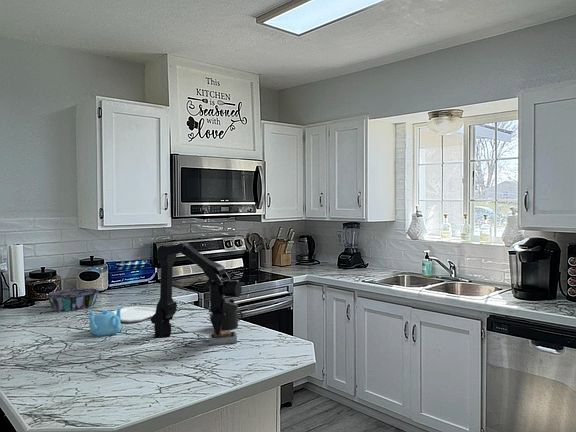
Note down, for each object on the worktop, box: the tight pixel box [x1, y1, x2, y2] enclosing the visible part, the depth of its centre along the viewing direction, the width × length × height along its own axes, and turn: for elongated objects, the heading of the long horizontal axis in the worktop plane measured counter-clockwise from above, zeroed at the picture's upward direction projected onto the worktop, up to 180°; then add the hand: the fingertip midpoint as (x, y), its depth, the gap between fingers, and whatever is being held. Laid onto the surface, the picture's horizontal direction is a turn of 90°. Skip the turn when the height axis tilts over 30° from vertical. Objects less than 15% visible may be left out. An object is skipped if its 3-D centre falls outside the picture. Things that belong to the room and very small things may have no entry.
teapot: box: [86, 305, 123, 337], centre depth 208 cm, size 15×15×10 cm
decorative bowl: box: [46, 287, 100, 312], centre depth 260 cm, size 26×28×10 cm
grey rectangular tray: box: [208, 331, 238, 346], centre depth 193 cm, size 11×8×2 cm
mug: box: [221, 307, 244, 331], centre depth 214 cm, size 9×12×9 cm
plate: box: [111, 305, 156, 324], centre depth 237 cm, size 25×25×2 cm
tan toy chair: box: [213, 328, 232, 338], centre depth 193 cm, size 7×4×7 cm, turn 102°
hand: (217, 333), depth 192 cm, fingers closed on tan toy chair, 4 cm apart
